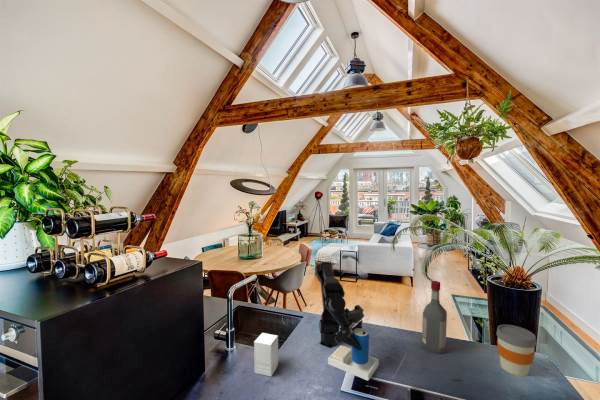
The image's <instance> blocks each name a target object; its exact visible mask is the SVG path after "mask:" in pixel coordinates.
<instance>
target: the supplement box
mask: <svg viewBox="0 0 600 400" xmlns="http://www.w3.org/2000/svg"><path fill="white" fill-rule="evenodd" d="M253 346H254V347H253V351H254V352H253V353H254V354H253V357H254V359H253V360H254V362H253V363H254V364H253V365H254V374H256V375H257V374H258V375H262V376H265V377H266V376H267V377H272V376H273V375H274V373H275V371H276V370H277V368H278V366H279V335H276V334H272V333H271V334H270V333H266V332H261V334H259V336H258V337H257V338H255V340H254V341H253Z"/></svg>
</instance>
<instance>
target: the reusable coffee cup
mask: <svg viewBox="0 0 600 400" xmlns="http://www.w3.org/2000/svg"><path fill="white" fill-rule="evenodd" d="M496 336H497V340H496V344H497V345H496V347H497V352H498V355H499V361H500V362H499V363H500V367H501V368H502V369H503V370H504V371H505V372H507V373H510V374H512V375H515V376H519V377H526V376H528V375H529V372H530V368H531V364H533V361H534V357H535V353H536V351H535V347H536V346H537V339H536V335H535V334H534V333H533V332H531V331H530V330H528V329H527V328H523V327H521V326H517V325H512V324H500V325H498V326H497V328H496Z"/></svg>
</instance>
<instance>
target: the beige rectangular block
mask: <svg viewBox="0 0 600 400" xmlns="http://www.w3.org/2000/svg"><path fill="white" fill-rule="evenodd" d="M340 346H341V347H340ZM340 346H339V347H340V348H339V347H338V348H339V349H338V348H337V349H338V350H337V349H336V350H337V351H336V350H335V351H336V352H335V351H334V352H335V353H334V352H333V353H334V354H333V353H332V354H333V355H332V354H331V355H332V359H335V360H337V361H340V362H342V363H345V364H347V363H348V362H349V361H350V359H351V358H352V348H350V347H348V346H345V345H340Z"/></svg>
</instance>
